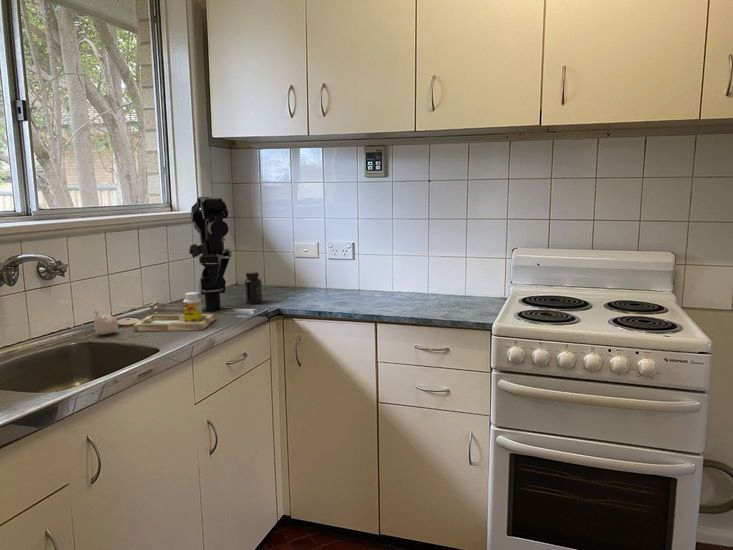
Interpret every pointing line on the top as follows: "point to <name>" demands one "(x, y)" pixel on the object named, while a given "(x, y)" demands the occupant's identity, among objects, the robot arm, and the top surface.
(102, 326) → the garlic bulb
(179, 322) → the keyhole tray
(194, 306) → the supplement bottle
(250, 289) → the supplement bottle
